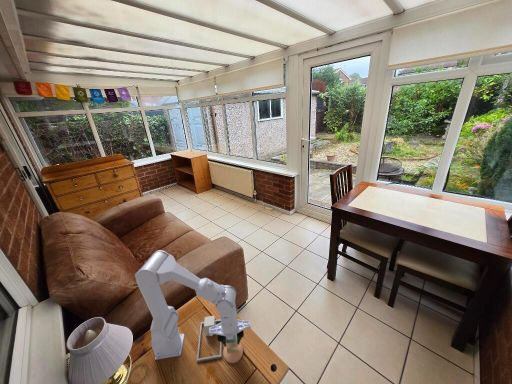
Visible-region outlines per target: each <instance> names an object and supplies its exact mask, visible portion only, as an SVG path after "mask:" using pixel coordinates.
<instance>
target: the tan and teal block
mask: <svg viewBox="0 0 512 384" xmlns="http://www.w3.org/2000/svg"><path fill="white" fill-rule="evenodd" d="M226 348H227V354H229V353H235V352H238V344H237V334H235V335H234V336H233V339H229V340H228V339H227V336H226Z"/></svg>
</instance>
